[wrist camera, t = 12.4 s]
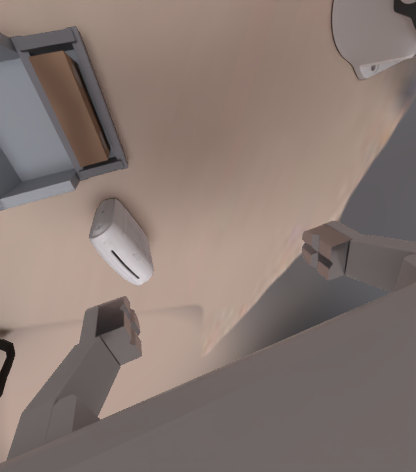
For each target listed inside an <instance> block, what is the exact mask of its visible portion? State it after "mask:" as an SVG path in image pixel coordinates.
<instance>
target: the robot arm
mask: <svg viewBox="0 0 416 472" xmlns="http://www.w3.org/2000/svg"><path fill="white" fill-rule="evenodd" d="M332 28H333V35H334V40H335V43H336V46H337V48H338V50H339V52H340V53H341V55H342V56H343V57H344V58H345V59H346V60H347V61H348V62H350V63H351V64H352V65H353V67H354V70H355V72H356V75H357V77H358V78H359V79H360V80H364V79H368V78H370V77H372V76H374V75H376V74H378V73H380V72H382V71H384V70H386V69H387V68H389V67H391V66H393V65H395V64H397V63H399V62H401V61H403V60H405V59H409V58H412V57H413V56H414V55H415V54H416V0H334V4H333V13H332ZM371 67H372V69H371ZM302 240H303V241H304V242H305V244H304V245H303V247H302V254H303V257H304V259H305V260H306V262H307V263H308V264H309V265H310V266H313V267H317V271H318V273H320V274H321V275H322V276H323V277H324V278H325V279H327V280H331V279H334V278H337V277H339V276H342V275H346V276H348V277H351V278H354V279H356V280H359V281H362V282H364V283H367V284H370V285H373V286H375V287H378V288H381V289H383V290H386V291H389V292H392V293H390V294H388V295H385V296H383V297H381V298H378V299H376V300H374V301H371V302H369V303H367V304H365V305H362V306H360V307H358V308H355V309H353V310H351V311H349V312H346V313H344V314H342V315H339V316H337V317H335V318H333V319H330V320H328V321H326V322H323V323H321V324H319V325H317V326H314V327H312V328H310V329H308V330H306V331H303V332H301V333H298V334H296V335H294V336H291V337H289V338H287V339H284V340H282V341H280V342H278V343H276V344H273V345H271V346H268V347H266V348H264V349H262V350H260V351H257V352H255V353H252V354H250V355H248V356H246V357H243V358H241V359H239V360H236V361H234V362H232V363H230V364H227V365H225V366H223V367H220V368H218V369H216V370H213V371H211V372H209V373H206V374H204V375H202V376H200V377H197V378H195V379H193V380H191V381H188V382H186V383H184V384H181V385H179V386H177V387H174V388H172V389H170V390H168V391H165V392H163V393H161V394H158V395H156V396H154V397H151V398H149V399H147V400H145V401H142V402H140V403H138V404H136V405H133V406H131V407H129V408H126V409H124V410H122V411H119V412H117V413H115V414H113V415H111V416H108V417H106V418H104V419H101V420H100V419H99V418H98V415H99V413H100V410H101V408H102V406H103V404H104V402H105V400H106V397H107V395H108V393H109V391H110V389H111V386H112V384H113V382H114V380H115V378H116V376H117V373H118V371H119V369H120V366H121V365H123V364H125V363H127V362H129V361H132V360H134V359H137V358H139V357H141V356H142V351H141V341H140V339H139V337H138V335H139V333H140V327H139V322H138V318H137V316H136V313H135V311H134V310H132V309H130V302H129V300H128V298H127V297H126V296H124V297H121V298H118V299H115V300H112V301H109V302H106V303H103V304H100V305H97V306H94V307H91V308H89V309H87V310H86V311H85V315H84V320H83V326H82V331H81V337H80V343H79V344H77V345H75V346H74V348H73V349H72V350H71V351H70V353H69V354H68V355H67V357H66V358H65V359H64V360H63V362H62V363H61V364H60V365H59V367H58V368H57V369H56V370H55V372H54V373H53V374H52V376H51V377H50V378H49V379H48V381H47V382H46V383H45V384H44V386H43V387H42V388H41V390H40V391H39V392H38V393H37V395H36V396H35V397H34V399H33V400H32V401H31V402H30V404H29V405H28V406H27V407H26V409H25V410H24V411H23V412H22V414H21V417H20V420H19V423H18V426H17V429H16V433H15V436H14V439H13V442H12V445H11V448H10V451H9V454H8V457H7V460H6V461H5V462H3V463H0V472H416V242H412V241H405V240H399V239H392V238H386V237H379V236H372V235H364V236H363V235H361V234H359V233H358V232H356V231H354V230H352V229H350V228H348V227H347V226H345V225H343V224H341V223H339V222H337V221H331V222H328V223H325V224H323V225H321V226H318V227H315V228H313V229H310V230H307V231H304V233H303V236H302Z"/></svg>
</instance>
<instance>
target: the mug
mask: <svg viewBox="0 0 416 472" xmlns="http://www.w3.org/2000/svg"><path fill="white" fill-rule="evenodd" d="M0 350H3V351H5V352H6V355H7V357H6V360H5V362H4V365H3V367H2V369H1V371H0V397H1V396H2V394H3V390H4V387H5V383H6V380H7V376H8V374H9V372H10V369H11V367H12V363H13V360H14V357H15V350H14V346H13V343H11V342H9V341H6V340H4V339H0Z"/></svg>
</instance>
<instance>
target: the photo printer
mask: <svg viewBox="0 0 416 472" xmlns="http://www.w3.org/2000/svg"><path fill="white" fill-rule="evenodd" d="M89 239H90V241H91V243H92V245H93V246H94V248H95V249H96V250H97V252H98V253H99V254H100V255H101V257H102V258H103V259H104V260H105V261H106V262H107V263H108V264H109V265H110V266H111V267H112V268H113V269H114V270H115V271H116V272H117V273H118V274H119V275H120V276H121V277H123V278H124V279H125V280H127V281H128V282H130V283H132V284H134V285H141V284H142V283H144V282H146V281H148V280H149V279H150V277H151V276H152V274H153V270H154V269H153V263H152V257H151V252H150V246H149V241H148V238H147V236H146V235H145V233H144V231H143V230H142V229H141V227H140V226H139V225H138V224H137V222H136V221H135V220H134V218H133V217H132V216H131V215H130V213H129V212H128V211H127V210H126V208H125V207H124V206H123V205H122V204H121V203H120V202H119V201H118V200H117V199H107V200H105V201H103V202H102V203H101V204H100V206H99V208H98V209H97V210H96V212H95V216H94V219H93V223H92V227H91V230H90V234H89Z"/></svg>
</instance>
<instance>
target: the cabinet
mask: <svg viewBox="0 0 416 472" xmlns="http://www.w3.org/2000/svg"><path fill="white" fill-rule="evenodd" d="M58 51H64V52H65V53H66V54H67V55H69V56H70V57H71V58H72V59H73V60H74V61H75V62H76V63H77V64H78V67H79V70H80V72H81V75H82V77H83V80H84V82H85V85H86V87H87V90H88V92H89V95H90V97H91V100H92V103H93V105H94V108H95V110H96V113H97V115H98V118H99V120H100V123H101V125H102V128H103V130H104V133H105V136H106V138H107V141H108V143H109V146H110V148H111V150H110V154H109V158H108V160H106V161H102V162H99V163H95V164H91V165H87V166H83V167H80V165H79V163H78V160H77V158H76V156H75V154H74V152H73V150H72V148H71V146H70V144H69V142H68V139H67V137H66V135H65V133H64V131H63V129H62V127H61V125H60V123H59V121H58V119H57V116H56V114H55V112H54V110H53V108H52V106H51V104H50V102H49V100H48V98H47V95H46V93H45V91H44V89H43V87H42V85H41V83H40V81H39V79H38V77H37V75H36V72H35V70H34V68H33V66H32V64H31V62H30V60H29V58H28V57H30V56H36V55H41V54H47V53H52V52H58ZM126 168H128V162H127V159H126V157H125V154H124V151H123V148H122V146H121V143H120V140H119V138H118V135H117V132H116V129H115V127H114V124H113V121H112V119H111V116H110V113H109V110H108V108H107V105H106V102H105V100H104V97H103V94H102V91H101V89H100V86H99V83H98V81H97V78H96V75H95V72H94V70H93V67H92V64H91V62H90V59H89V56H88V53H87V51H86V48H85V45H84V43H83V40H82V37H81V35H80V32H79V31H78V29H77V27H76V26H74V27H68V28H66V29H63V30H58V31H52V32H46V33H40V34H34V35H28V36H15V37H10V38H9V37H7V36H5V35H3V34H2V33H0V211H1V210H5V209H8V208H12V207H15V206H19V205H23V204H26V203H30V202H34V201H37V200H41V199H44V198H48V197H52V196H55V195H59V194H62V193H66V192H70V191H73V190H75V189H76V187H77V185H78V183H79V181H81V180H85V179H88V178H90V177H93V176H97V175H101V174H105V173H108V172H112V171H116V170H119V169H121V170H122V169H126Z"/></svg>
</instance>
